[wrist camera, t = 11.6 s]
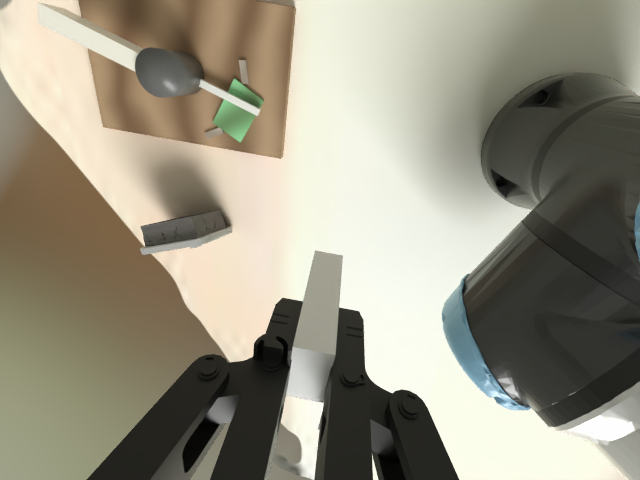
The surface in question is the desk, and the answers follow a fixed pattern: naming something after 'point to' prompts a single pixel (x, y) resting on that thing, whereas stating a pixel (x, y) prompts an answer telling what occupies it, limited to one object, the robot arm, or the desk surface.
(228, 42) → the board
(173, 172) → the desk surface
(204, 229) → the electrical switch
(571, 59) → the desk surface
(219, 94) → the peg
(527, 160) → the robot arm
